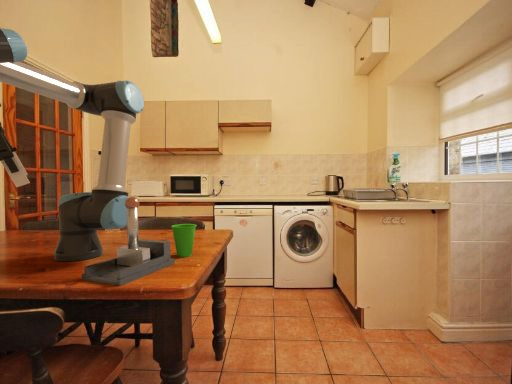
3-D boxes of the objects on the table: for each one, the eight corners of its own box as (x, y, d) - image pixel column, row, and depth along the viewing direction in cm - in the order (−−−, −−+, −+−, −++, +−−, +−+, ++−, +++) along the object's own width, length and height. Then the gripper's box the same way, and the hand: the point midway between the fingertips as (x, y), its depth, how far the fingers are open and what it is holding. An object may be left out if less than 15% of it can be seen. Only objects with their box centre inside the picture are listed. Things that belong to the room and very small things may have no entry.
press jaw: (141, 267, 81) (140, 197, 81) (115, 264, 85) (114, 197, 84) (151, 264, 85) (150, 196, 84) (126, 261, 89) (124, 196, 88)
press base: (120, 285, 72) (119, 256, 71) (81, 279, 77) (81, 252, 77) (174, 263, 92) (174, 240, 92) (141, 259, 97) (141, 238, 97)
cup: (200, 252, 107) (199, 223, 106) (192, 258, 98) (191, 227, 97) (177, 252, 107) (176, 223, 107) (167, 258, 98) (166, 227, 98)
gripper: (-42, 100, 69) (5, 178, 78) (-63, 92, 51) (2, 196, 59) (-5, 93, 73) (36, 169, 82) (-11, 84, 55) (43, 182, 63)
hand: (22, 180), depth 71 cm, fingers open, 13 cm apart
